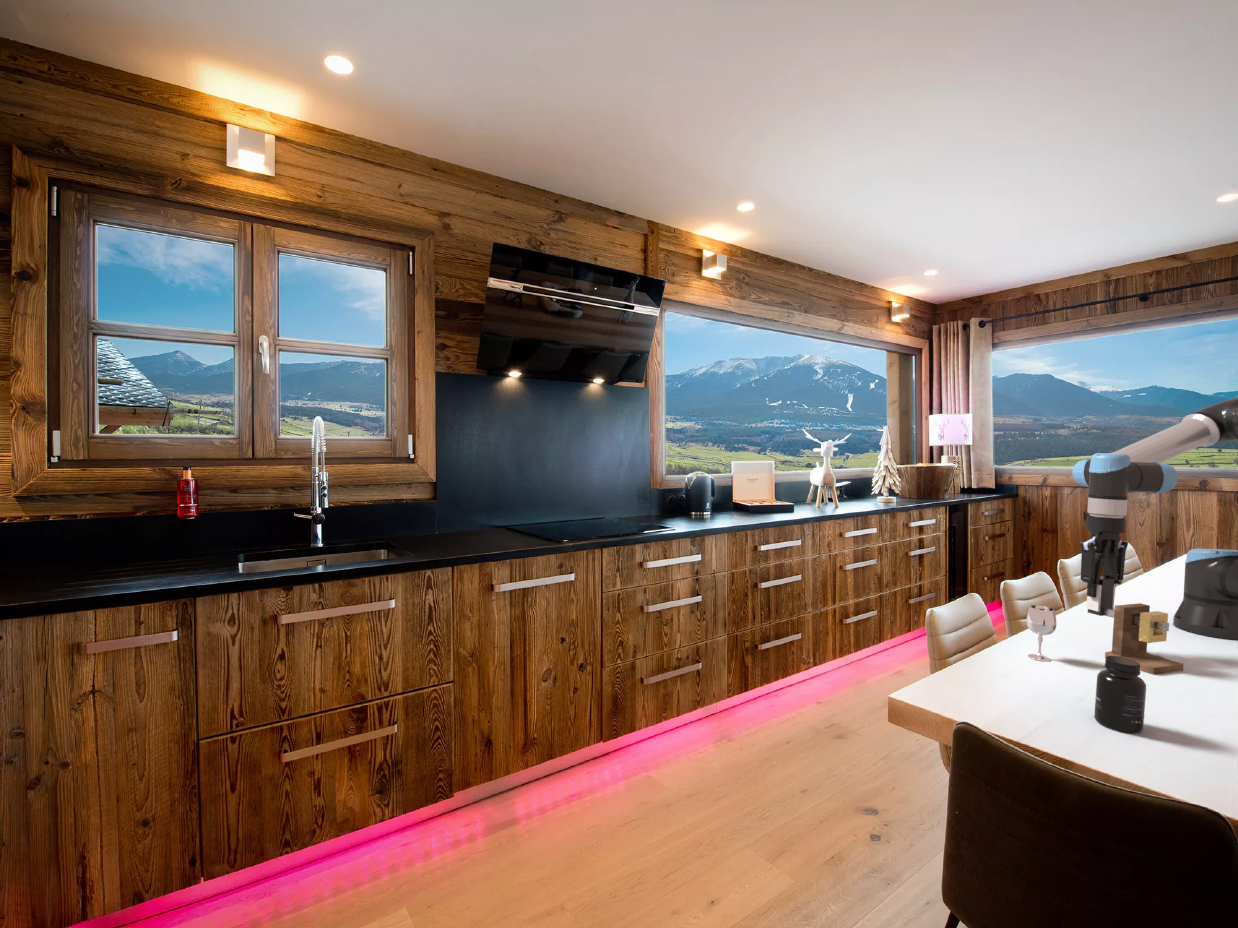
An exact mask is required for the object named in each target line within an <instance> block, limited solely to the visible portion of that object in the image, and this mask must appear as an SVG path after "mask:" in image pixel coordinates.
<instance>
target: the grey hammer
mask: <svg viewBox="0 0 1238 928" xmlns="http://www.w3.org/2000/svg"><path fill="white" fill-rule="evenodd" d="M1099 585H1102V590H1101V605H1100V611H1094V610H1090V609H1087V613H1088V614H1092V615H1095V616H1100V617H1102V616H1103V617H1105V616H1106V617H1108V618H1113V619H1114V610H1115V608H1114V609H1113V608H1112V605H1113V591H1114V579H1113V578H1108V577H1104V575H1103V576H1102V575H1101V577H1100V582H1099ZM1132 623H1134V624H1138V625H1140V615H1136V614H1133V616H1132ZM1154 629H1156V630H1160V631H1163V632H1164V631H1167V632H1169V631H1170V630H1169V629H1170V623H1169V622H1168V623H1167V622H1163V621H1158V622H1154Z"/></svg>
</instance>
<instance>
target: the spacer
mask: <svg viewBox="0 0 1238 928" xmlns="http://www.w3.org/2000/svg"><path fill="white" fill-rule="evenodd" d="M1168 619H1169V613H1167V612H1163V611H1159V610H1156V611H1155V610H1154V611H1149V612H1143V613H1140V625H1139V640H1140V641H1143V642H1146V643H1147V644H1154V643H1160V642H1167V635H1168V634H1167V633H1168V631H1164V632H1163V631H1160V630H1156V629H1154V622H1158V621H1163V622H1167V623H1169V621H1168Z"/></svg>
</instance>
